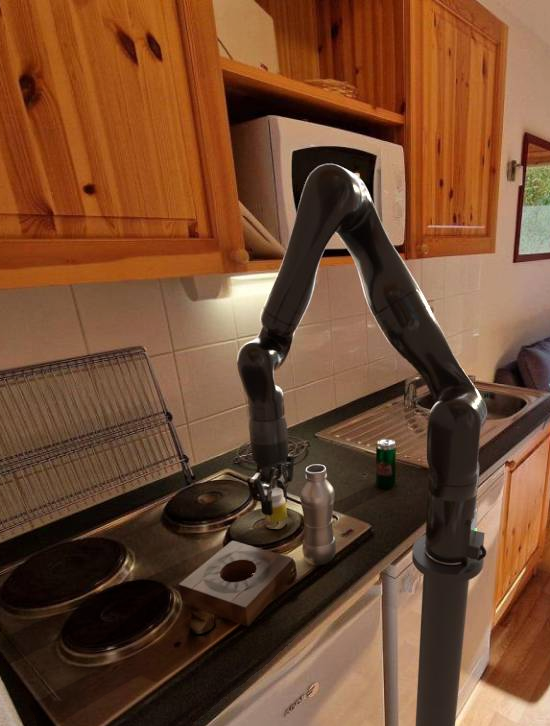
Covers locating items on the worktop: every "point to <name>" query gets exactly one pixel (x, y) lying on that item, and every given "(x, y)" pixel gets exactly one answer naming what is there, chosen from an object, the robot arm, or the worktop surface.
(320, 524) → the silver metal bottle
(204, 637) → the worktop surface
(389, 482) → the soda can
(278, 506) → the supplement bottle
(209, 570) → the bottle holder
